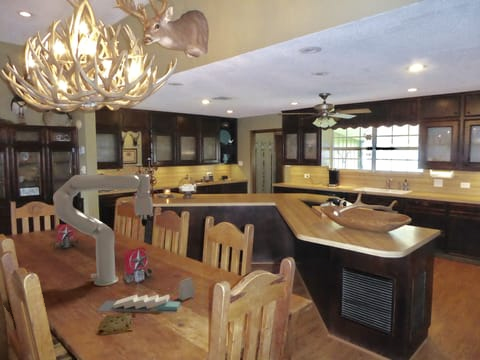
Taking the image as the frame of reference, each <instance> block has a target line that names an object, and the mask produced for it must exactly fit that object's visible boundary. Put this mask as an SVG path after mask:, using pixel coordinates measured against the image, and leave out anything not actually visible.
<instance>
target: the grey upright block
mask: <svg viewBox="0 0 480 360" xmlns="http://www.w3.org/2000/svg"><path fill="white" fill-rule="evenodd" d="M177 288H178V290H177V291H178V299H180V300H181V301H185V300H188V299H190V298H191V300H193V299H195V286H194V282H193V277H189V278H185V279H183V280H180V281H179V285H178V287H177Z"/></svg>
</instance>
